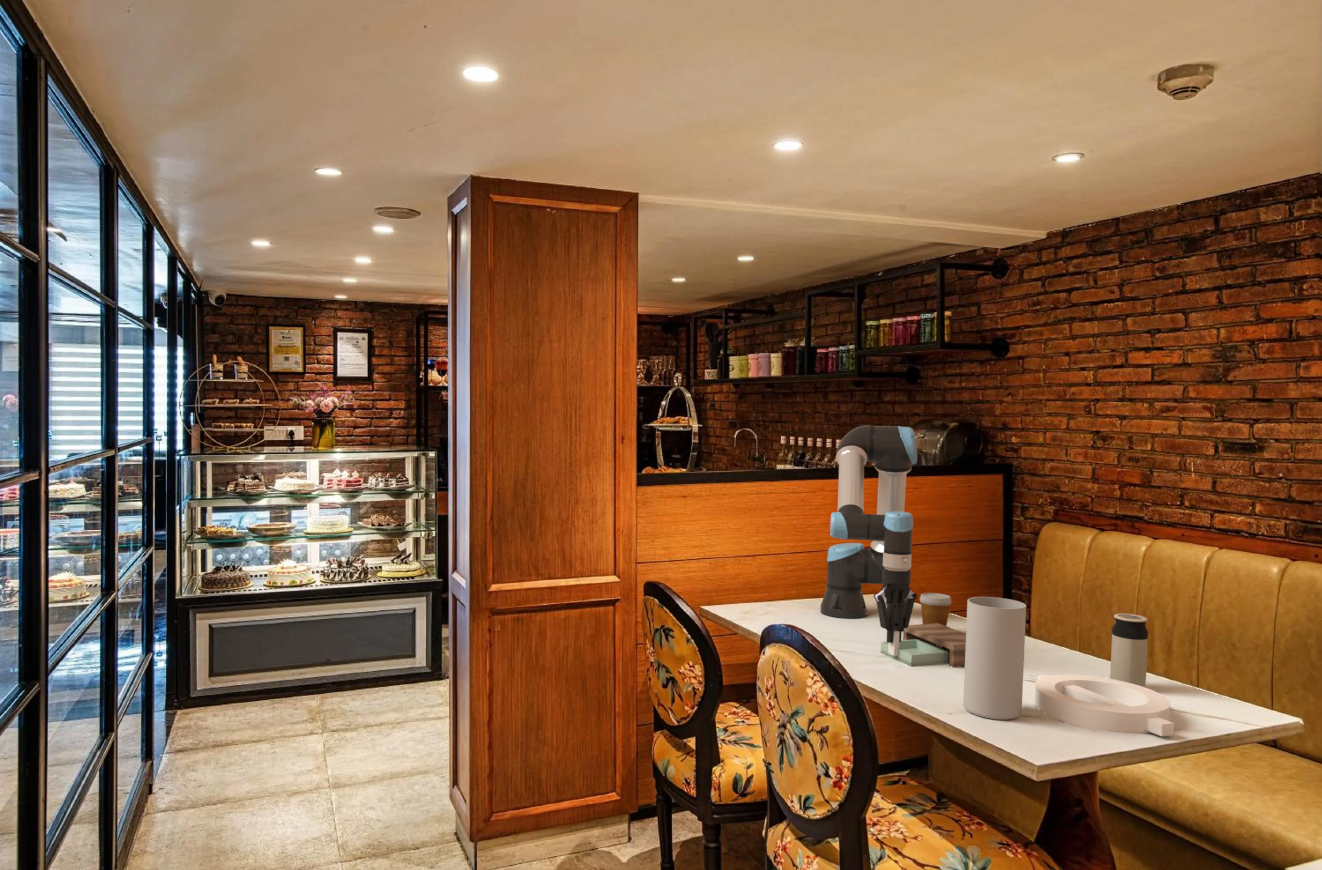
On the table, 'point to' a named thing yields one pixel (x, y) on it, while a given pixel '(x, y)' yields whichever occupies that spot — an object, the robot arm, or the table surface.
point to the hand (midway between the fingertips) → (893, 654)
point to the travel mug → (1129, 649)
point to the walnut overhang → (940, 639)
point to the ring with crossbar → (1103, 704)
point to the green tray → (917, 653)
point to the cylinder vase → (994, 657)
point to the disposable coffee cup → (935, 608)
